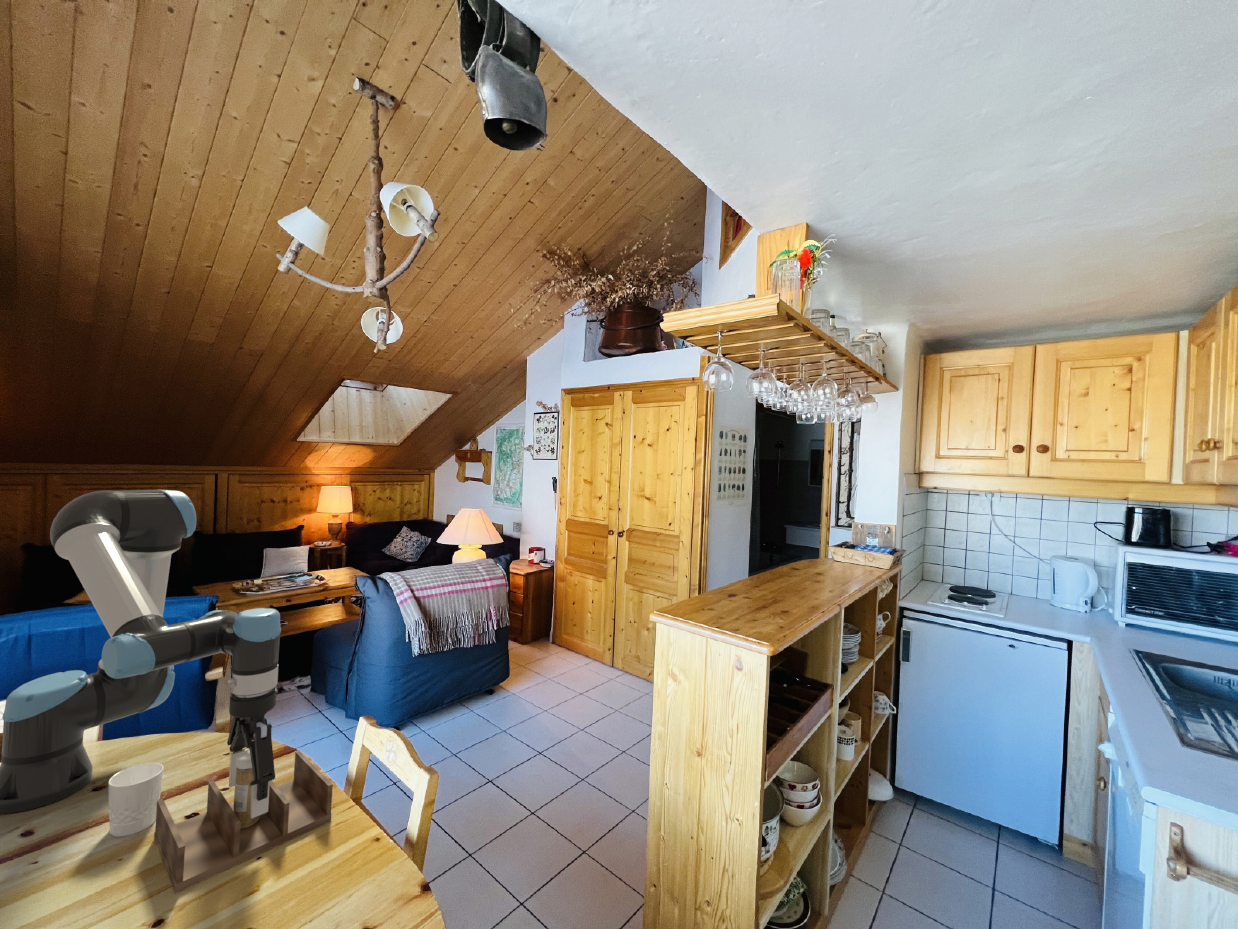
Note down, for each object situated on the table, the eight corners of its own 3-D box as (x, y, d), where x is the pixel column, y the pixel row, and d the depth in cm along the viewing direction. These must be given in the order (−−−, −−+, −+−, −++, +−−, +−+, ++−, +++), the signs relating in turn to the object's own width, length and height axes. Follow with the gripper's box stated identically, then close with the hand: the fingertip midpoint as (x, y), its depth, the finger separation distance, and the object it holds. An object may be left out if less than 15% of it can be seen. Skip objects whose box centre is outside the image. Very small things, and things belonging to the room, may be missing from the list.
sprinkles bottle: (263, 821, 101) (268, 752, 102) (236, 833, 98) (241, 762, 98) (254, 811, 104) (259, 744, 104) (227, 823, 100) (232, 753, 101)
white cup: (126, 843, 96) (129, 789, 96) (94, 835, 98) (97, 782, 98) (170, 816, 104) (173, 766, 104) (140, 808, 105) (143, 760, 106)
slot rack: (154, 840, 97) (156, 800, 97) (297, 783, 116) (299, 750, 116) (175, 893, 86) (178, 848, 86) (331, 821, 105) (333, 784, 105)
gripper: (213, 676, 106) (207, 780, 106) (251, 718, 90) (244, 839, 90) (255, 667, 112) (250, 765, 112) (299, 704, 96) (292, 818, 96)
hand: (247, 798), depth 101 cm, fingers open, 13 cm apart
